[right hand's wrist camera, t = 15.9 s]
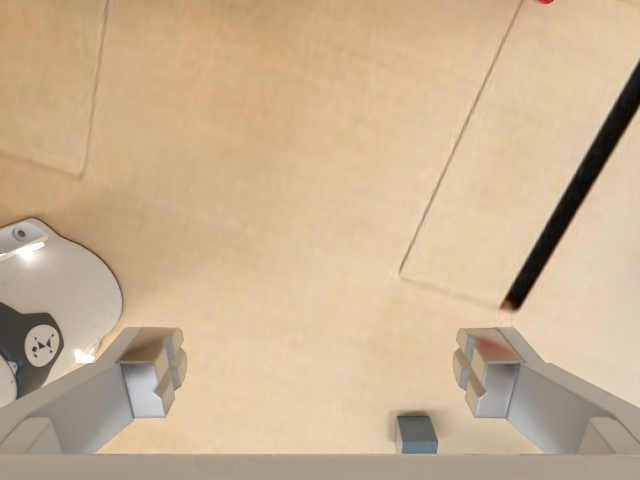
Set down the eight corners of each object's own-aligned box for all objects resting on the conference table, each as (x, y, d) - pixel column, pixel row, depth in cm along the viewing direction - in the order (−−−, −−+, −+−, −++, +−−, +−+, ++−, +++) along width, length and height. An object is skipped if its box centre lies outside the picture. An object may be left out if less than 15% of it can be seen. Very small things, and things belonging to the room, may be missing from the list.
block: (429, 416, 50) (438, 442, 46) (426, 443, 52) (434, 470, 48) (396, 416, 50) (402, 442, 46) (394, 443, 52) (400, 470, 48)
